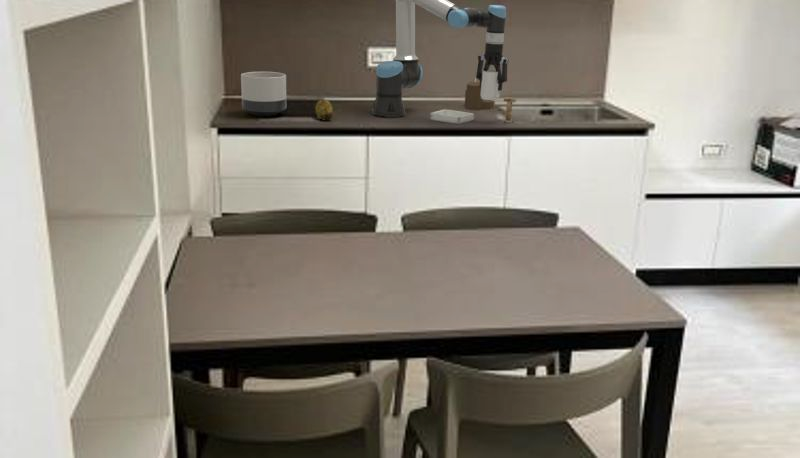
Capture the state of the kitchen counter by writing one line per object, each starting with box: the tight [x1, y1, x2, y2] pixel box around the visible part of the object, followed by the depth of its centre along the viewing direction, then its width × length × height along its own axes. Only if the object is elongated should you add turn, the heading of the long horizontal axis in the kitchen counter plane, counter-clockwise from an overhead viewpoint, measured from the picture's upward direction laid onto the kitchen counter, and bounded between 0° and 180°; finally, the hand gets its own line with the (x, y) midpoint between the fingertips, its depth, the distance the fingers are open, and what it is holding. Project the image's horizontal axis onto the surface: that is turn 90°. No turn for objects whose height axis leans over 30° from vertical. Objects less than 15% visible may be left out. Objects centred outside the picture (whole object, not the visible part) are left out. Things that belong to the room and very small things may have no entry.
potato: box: [314, 99, 334, 121], centre depth 342 cm, size 8×13×8 cm, turn 179°
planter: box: [240, 71, 287, 117], centre depth 345 cm, size 19×19×18 cm
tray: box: [429, 108, 475, 125], centre depth 350 cm, size 15×13×3 cm
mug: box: [481, 69, 498, 101], centre depth 342 cm, size 10×7×12 cm, turn 168°
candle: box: [464, 77, 495, 111], centre depth 380 cm, size 14×14×15 cm
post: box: [503, 97, 517, 122], centre depth 350 cm, size 5×4×10 cm
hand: (489, 96), depth 343 cm, fingers closed on mug, 6 cm apart
